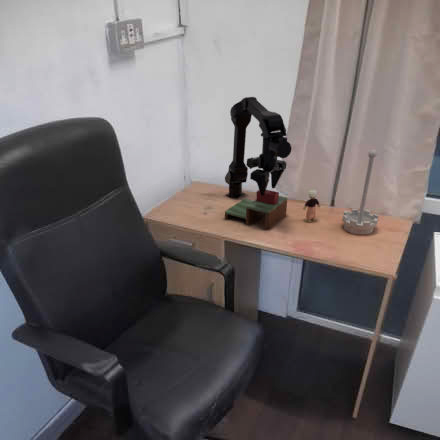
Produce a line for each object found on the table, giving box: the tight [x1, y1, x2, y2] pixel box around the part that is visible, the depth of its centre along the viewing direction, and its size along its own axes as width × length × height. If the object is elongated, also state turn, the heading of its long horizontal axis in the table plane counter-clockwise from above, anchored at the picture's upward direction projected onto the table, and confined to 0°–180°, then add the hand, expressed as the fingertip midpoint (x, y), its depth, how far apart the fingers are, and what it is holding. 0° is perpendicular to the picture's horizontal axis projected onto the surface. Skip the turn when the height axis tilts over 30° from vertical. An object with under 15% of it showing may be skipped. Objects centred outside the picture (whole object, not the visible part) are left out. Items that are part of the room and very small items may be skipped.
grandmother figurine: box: [302, 189, 321, 223], centre depth 165 cm, size 8×4×13 cm, turn 126°
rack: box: [224, 195, 288, 231], centre depth 170 cm, size 16×20×8 cm
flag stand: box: [341, 149, 379, 236], centre depth 154 cm, size 13×13×30 cm
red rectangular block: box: [255, 189, 280, 205], centre depth 164 cm, size 4×8×4 cm, turn 57°
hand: (267, 191), depth 163 cm, fingers open, 9 cm apart
